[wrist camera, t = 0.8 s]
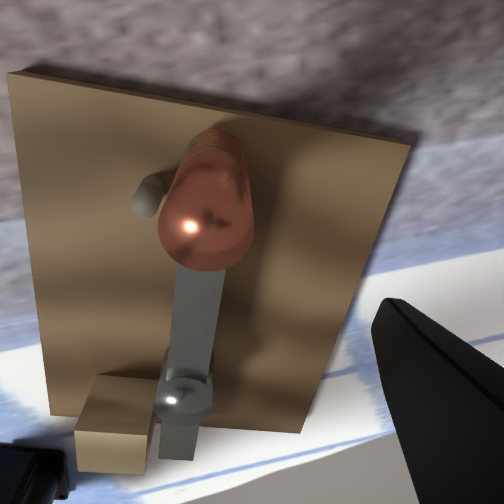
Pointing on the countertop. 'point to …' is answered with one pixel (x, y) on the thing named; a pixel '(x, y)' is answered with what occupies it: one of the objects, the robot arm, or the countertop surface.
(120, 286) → the board
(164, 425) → the lever
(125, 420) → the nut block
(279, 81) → the countertop surface
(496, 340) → the countertop surface
